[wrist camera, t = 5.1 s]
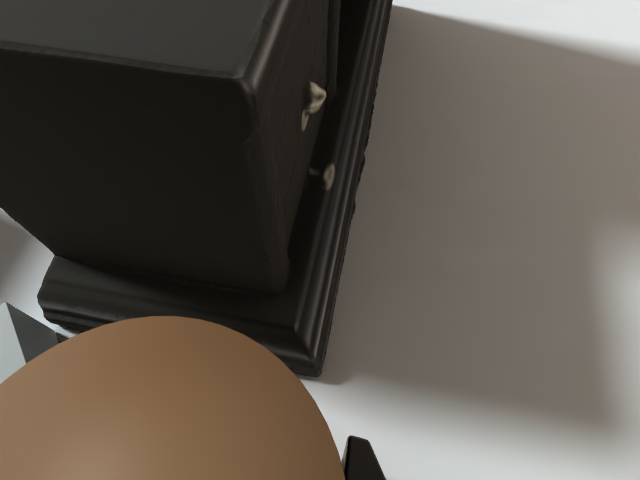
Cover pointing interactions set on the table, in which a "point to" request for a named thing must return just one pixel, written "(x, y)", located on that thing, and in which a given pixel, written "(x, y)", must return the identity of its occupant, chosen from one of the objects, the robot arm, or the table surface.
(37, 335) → the ridge bar
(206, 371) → the walnut dowel
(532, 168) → the table surface
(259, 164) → the black desk organizer
